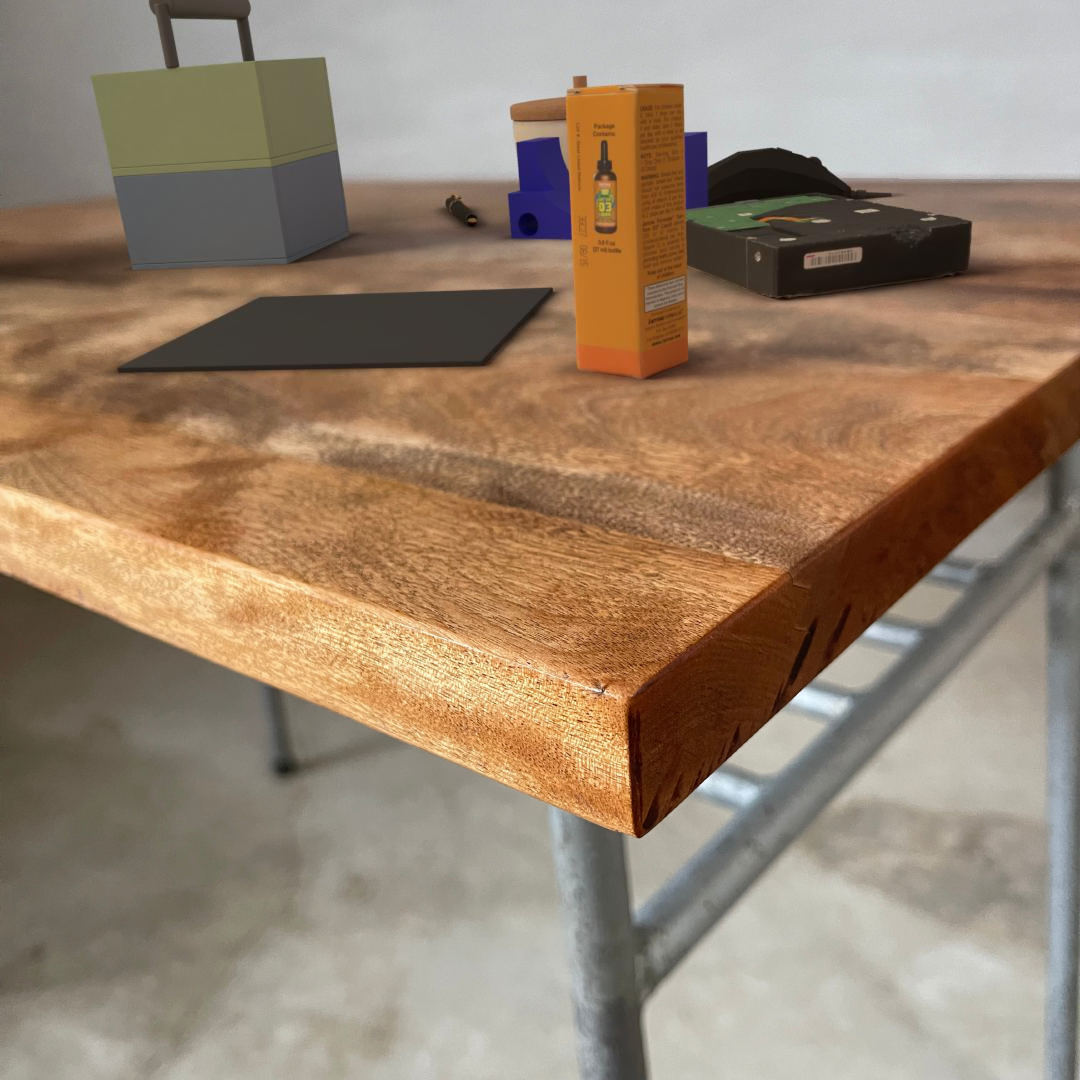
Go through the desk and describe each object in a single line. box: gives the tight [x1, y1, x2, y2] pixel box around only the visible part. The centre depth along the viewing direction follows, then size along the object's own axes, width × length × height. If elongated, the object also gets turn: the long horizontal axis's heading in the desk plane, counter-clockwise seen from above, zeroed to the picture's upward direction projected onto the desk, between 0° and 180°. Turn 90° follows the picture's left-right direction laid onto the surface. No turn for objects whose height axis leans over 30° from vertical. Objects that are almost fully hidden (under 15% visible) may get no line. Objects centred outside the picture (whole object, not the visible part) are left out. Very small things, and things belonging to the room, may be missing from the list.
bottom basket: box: [112, 149, 351, 271], centre depth 76 cm, size 11×11×6 cm
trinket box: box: [509, 74, 588, 171], centre depth 84 cm, size 11×11×9 cm
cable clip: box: [507, 131, 709, 240], centre depth 71 cm, size 12×4×6 cm, turn 59°
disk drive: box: [686, 193, 973, 299], centre depth 57 cm, size 10×3×15 cm
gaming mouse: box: [708, 146, 893, 207], centre depth 78 cm, size 6×15×4 cm, turn 89°
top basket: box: [90, 0, 339, 178], centre depth 72 cm, size 11×11×10 cm
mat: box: [116, 287, 554, 374], centre depth 52 cm, size 16×14×1 cm
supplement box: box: [565, 82, 689, 380], centre depth 40 cm, size 3×3×10 cm
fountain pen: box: [445, 193, 478, 227], centre depth 84 cm, size 14×1×2 cm, turn 12°
